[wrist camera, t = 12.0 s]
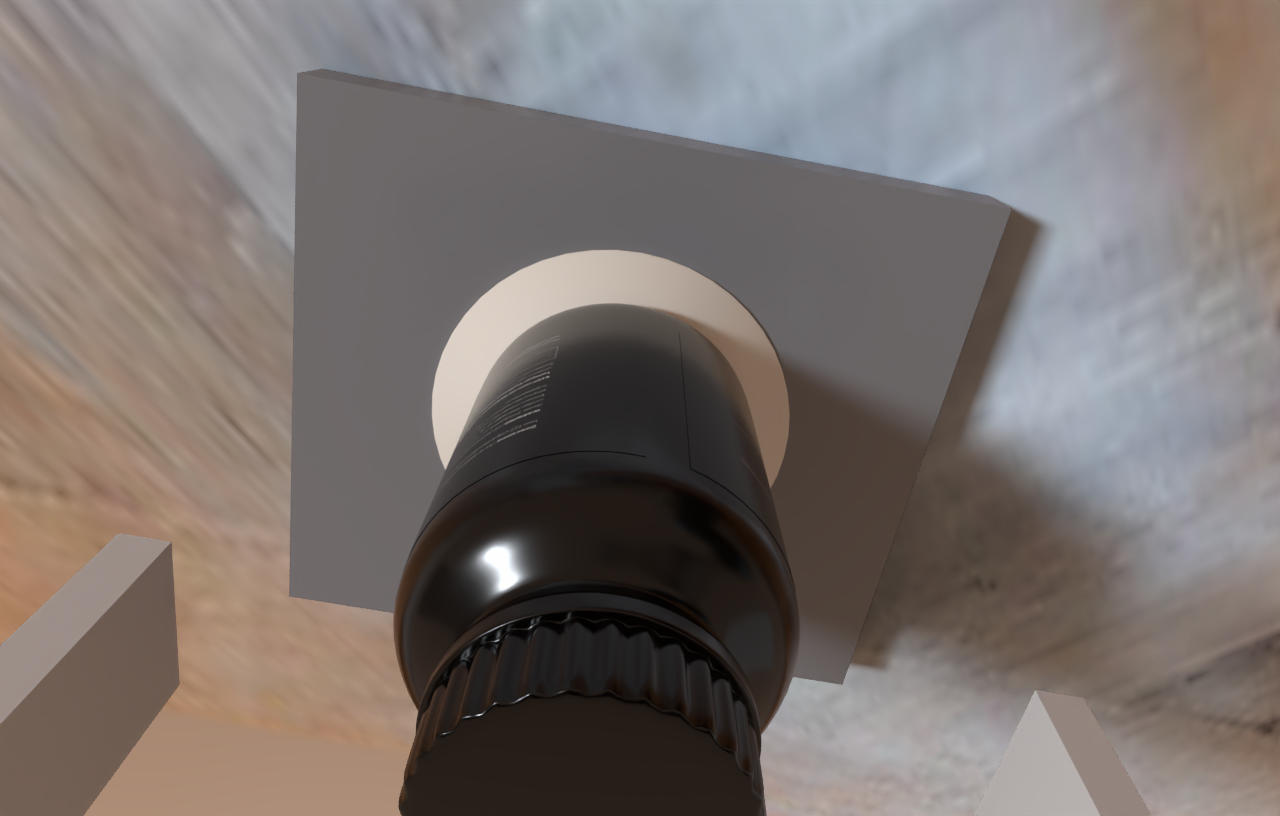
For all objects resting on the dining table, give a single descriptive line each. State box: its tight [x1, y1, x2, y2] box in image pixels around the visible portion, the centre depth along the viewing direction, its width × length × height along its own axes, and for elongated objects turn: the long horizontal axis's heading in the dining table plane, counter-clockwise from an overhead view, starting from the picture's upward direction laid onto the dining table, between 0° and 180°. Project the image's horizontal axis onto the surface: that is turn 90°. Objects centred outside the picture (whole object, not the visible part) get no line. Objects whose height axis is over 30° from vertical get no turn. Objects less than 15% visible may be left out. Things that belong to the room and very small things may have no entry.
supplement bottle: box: [394, 303, 800, 816], centre depth 17 cm, size 7×7×12 cm
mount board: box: [289, 69, 1011, 684], centre depth 23 cm, size 16×14×2 cm
